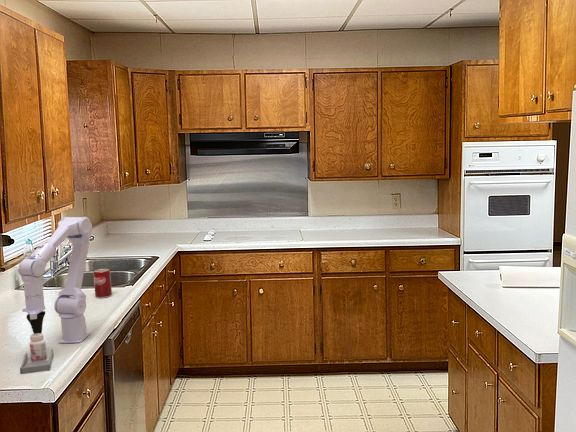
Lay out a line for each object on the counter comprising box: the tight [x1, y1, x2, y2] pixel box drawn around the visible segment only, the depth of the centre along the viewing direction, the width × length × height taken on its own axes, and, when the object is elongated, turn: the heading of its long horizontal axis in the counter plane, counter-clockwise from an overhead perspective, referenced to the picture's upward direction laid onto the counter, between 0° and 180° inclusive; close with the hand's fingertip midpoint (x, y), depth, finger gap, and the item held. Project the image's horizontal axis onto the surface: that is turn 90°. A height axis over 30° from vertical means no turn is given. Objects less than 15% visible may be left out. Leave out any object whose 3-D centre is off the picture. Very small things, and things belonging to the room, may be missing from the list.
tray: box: [19, 349, 55, 375], centre depth 211 cm, size 15×9×2 cm, turn 15°
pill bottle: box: [29, 332, 47, 362], centre depth 215 cm, size 5×5×8 cm
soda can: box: [92, 268, 113, 299], centre depth 295 cm, size 7×7×12 cm
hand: (38, 334), depth 219 cm, fingers closed
